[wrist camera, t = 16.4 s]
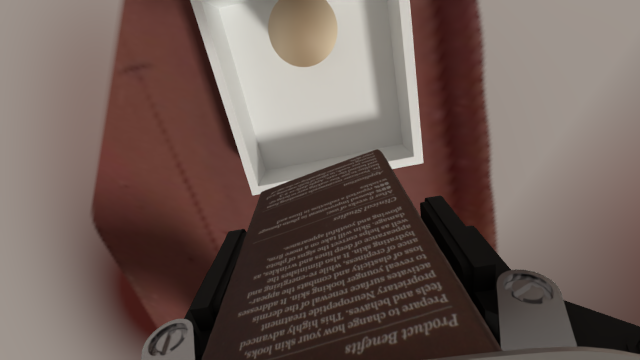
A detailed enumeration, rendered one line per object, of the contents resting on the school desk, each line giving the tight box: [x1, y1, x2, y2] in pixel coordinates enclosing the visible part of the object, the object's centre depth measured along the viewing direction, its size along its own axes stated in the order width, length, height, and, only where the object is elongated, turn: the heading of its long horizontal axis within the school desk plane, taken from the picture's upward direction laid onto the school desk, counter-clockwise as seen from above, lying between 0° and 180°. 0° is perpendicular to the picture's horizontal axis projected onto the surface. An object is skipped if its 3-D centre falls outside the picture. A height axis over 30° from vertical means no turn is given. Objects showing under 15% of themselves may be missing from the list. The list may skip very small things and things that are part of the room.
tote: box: [190, 0, 423, 195], centre depth 28 cm, size 18×17×5 cm
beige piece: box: [268, 0, 338, 67], centre depth 25 cm, size 5×5×7 cm
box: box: [202, 149, 503, 360], centre depth 9 cm, size 6×4×12 cm
